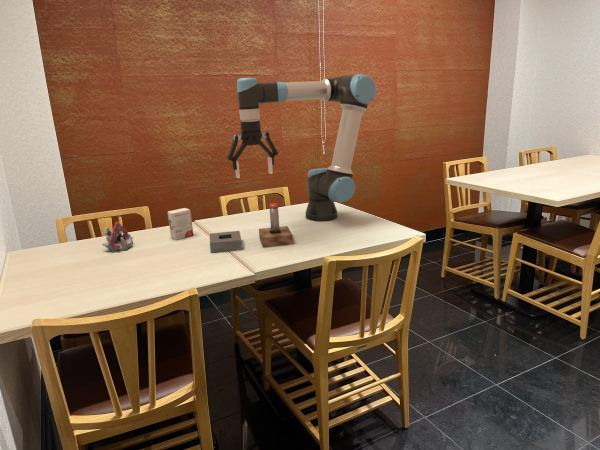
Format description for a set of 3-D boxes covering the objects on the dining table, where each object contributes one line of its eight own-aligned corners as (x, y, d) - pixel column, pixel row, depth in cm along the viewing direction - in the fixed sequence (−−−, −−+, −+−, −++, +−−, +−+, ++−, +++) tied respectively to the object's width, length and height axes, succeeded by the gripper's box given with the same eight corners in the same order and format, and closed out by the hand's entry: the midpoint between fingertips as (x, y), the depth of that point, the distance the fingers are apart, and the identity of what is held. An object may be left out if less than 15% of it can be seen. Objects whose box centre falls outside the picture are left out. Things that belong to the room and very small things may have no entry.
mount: (287, 235, 186) (287, 226, 185) (292, 244, 175) (292, 234, 174) (259, 237, 184) (258, 228, 183) (262, 247, 173) (262, 237, 171)
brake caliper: (126, 247, 172) (106, 223, 170) (109, 262, 175) (89, 239, 174) (142, 238, 182) (123, 215, 181) (126, 252, 186) (107, 230, 185)
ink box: (188, 233, 194) (185, 207, 191) (194, 235, 190) (191, 209, 187) (170, 237, 189) (166, 211, 185) (175, 240, 185) (171, 213, 182)
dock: (240, 239, 183) (239, 230, 181) (242, 249, 171) (241, 239, 170) (210, 242, 180) (209, 233, 179) (210, 253, 169) (209, 243, 168)
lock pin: (279, 239, 181) (277, 202, 177) (280, 242, 178) (278, 204, 173) (271, 240, 181) (268, 203, 176) (272, 242, 177) (269, 205, 173)
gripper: (276, 117, 176) (280, 170, 182) (215, 122, 166) (221, 178, 173) (284, 118, 169) (287, 173, 176) (220, 123, 160) (226, 181, 166)
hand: (254, 175), depth 174 cm, fingers open, 13 cm apart
